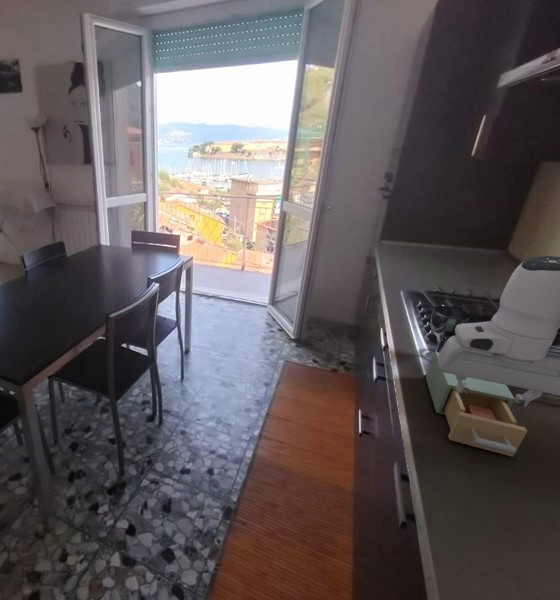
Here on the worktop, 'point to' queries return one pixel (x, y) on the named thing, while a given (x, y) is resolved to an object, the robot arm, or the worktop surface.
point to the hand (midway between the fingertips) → (489, 397)
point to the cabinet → (445, 381)
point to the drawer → (483, 423)
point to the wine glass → (446, 324)
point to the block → (479, 412)
